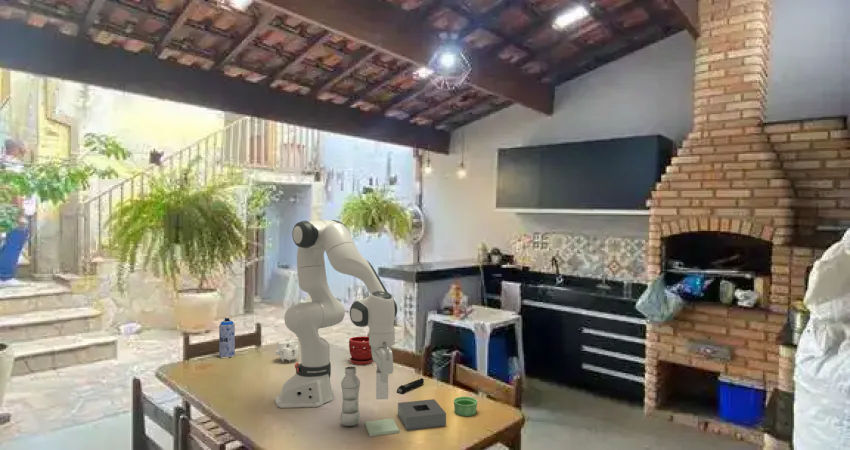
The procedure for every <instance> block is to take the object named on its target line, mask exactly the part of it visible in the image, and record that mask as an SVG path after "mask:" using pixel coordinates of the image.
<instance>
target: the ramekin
mask: <svg viewBox="0 0 850 450" xmlns="http://www.w3.org/2000/svg"><path fill="white" fill-rule="evenodd" d="M478 402H479V401H478V400H477V399H476V398H474V397H472V396H471V397H470V396H459V397H455V398H454V399H453V406H454V407H453V408H454V413H455V415H458V416H462V417H470V416H474V415H475V414H477V409H478V408H477V406H478Z"/></svg>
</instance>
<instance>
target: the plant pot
mask: <svg viewBox="0 0 850 450" xmlns="http://www.w3.org/2000/svg"><path fill="white" fill-rule="evenodd" d="M348 347H349V348H348V349H349V354H350V359H349V361H350V363H352V364H355V365H357V366H360V365H361V366H363V365H369V364H372V362H374V360H373V359H372V354H371V346H370V345H369V336H365V335H364V336H353V337H350V338H349V339H348Z"/></svg>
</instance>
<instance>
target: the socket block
mask: <svg viewBox="0 0 850 450" xmlns="http://www.w3.org/2000/svg"><path fill="white" fill-rule="evenodd" d="M397 416H398V418H399V419H400V421H401V423H402V424H403V426H404V428H405V430H406V432H408V431H415V430H425V429H432V428H441V427H446V426H447V413H446V411H445V410H444V409H443V408H442V407H441V405H440V404H439V403H438V402H437V401H436V400H435V398H434V399H433V398H432V399H423V400H421V399H420V400H413V401H403V402H402V401H401V402H398V403H397Z"/></svg>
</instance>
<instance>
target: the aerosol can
mask: <svg viewBox="0 0 850 450" xmlns="http://www.w3.org/2000/svg"><path fill="white" fill-rule="evenodd" d="M235 328H236V325H235V322H234V321H232V320H231V319H230V317H225V318H224V319H223V321H221V322H220V323H219V328H218V330H219V331H218V332H219V333H218V335H219V336H218V337H219V338H218V339H219V344H218V345H219V346H218V347H219V349H218V350H219V353H218V355H219V356H220V357H232V356H235V357H236V352H235V351H236V347H235V346H236V344H235V342H236V338H235V337H236V336H235V335H236V334H235V333H236V329H235ZM219 356H218V357H219ZM232 358H233V357H232Z"/></svg>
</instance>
